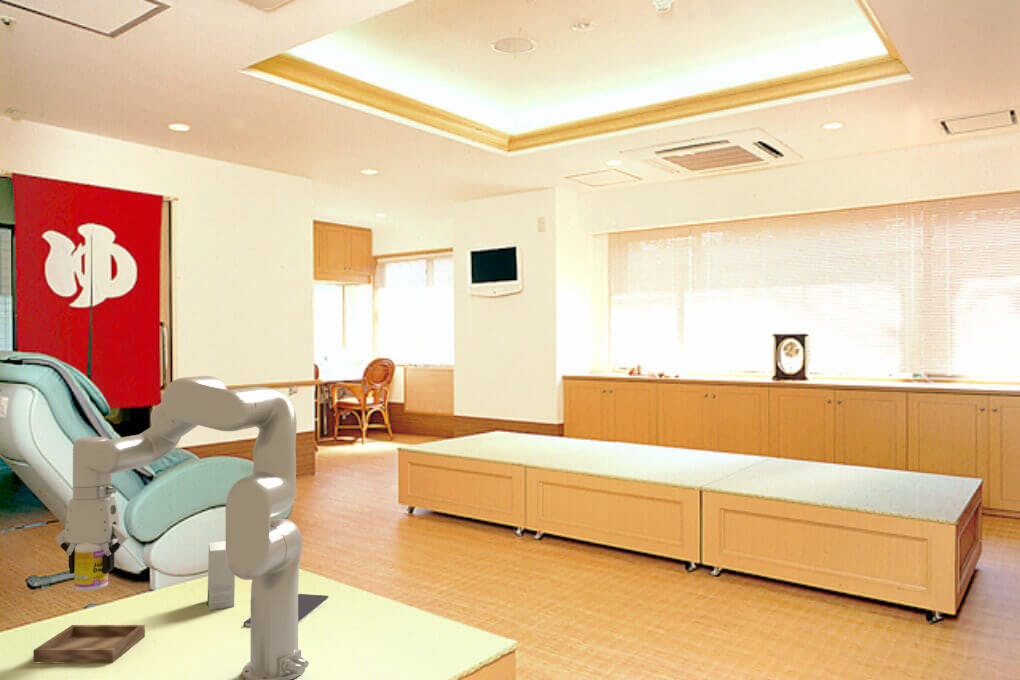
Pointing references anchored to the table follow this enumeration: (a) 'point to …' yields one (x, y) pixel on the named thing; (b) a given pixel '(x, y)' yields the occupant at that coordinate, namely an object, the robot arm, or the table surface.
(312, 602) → the notebook
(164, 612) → the table surface
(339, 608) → the table surface
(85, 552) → the supplement bottle
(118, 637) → the holder tray
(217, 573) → the skincare box
